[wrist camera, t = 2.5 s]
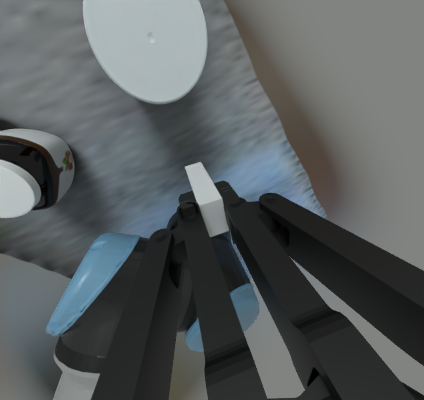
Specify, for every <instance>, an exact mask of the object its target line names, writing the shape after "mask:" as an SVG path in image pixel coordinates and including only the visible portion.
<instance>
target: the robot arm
mask: <svg viewBox="0 0 424 400" xmlns="http://www.w3.org/2000/svg"><path fill="white" fill-rule="evenodd" d="M185 169H186V172H187V175H188V178H189V181H190V184H191V187H192V190H193V191H191V192H187V193H184V194H181V195H180V197H179V203H180V206H179V207H178V208H177V212H176V213H175V214H174V215H173V216H172V217H171V219H170V221H169V223H168V225H167V229H160V230H158V231H156V232H154V233H153V234H152V235H151V237H150V238H149V239H148V238H143V237H140V236H139V235H134V236H133V235H127V234H121V233H115V232H107V233H104V234H102V235H100V236H99V237H97V238H96V240H95V241H94V242H93V244H92V245H91V247H90V248H89V250H88V252H87V253H86V255H85V257H84V259H83V260H82V262H81V264H80V265H79V267H78V269H77V271H76V272H75V274H74V276H73V278H72V280H71V281H70V283H69V285H68V287H67V289H66V291H65V292H64V294H63V296H62V298H61V300H60V302H59V303H58V305H57V307H56V309H55V311H54V313H53V315H52V317H51V320H50V322H49V324H48V325H47V327H46V332H47V333H48V334H52V335H53V336H54V337H55V336H59V335H60V337H59V340H58V343H57V345H56V348H55V351H54V359H55V362H56V363H57V364H58V366H59V367H60V368H61V370H62V371H63V373H62V376H61V379H60V382H59V384H58V387H57V390H56V392H55V395H54V398H53V400H168V398H169V390H170V382H171V374H172V366H173V358H174V349H175V342H176V334H177V332H184V333H185V341H186V342H187V345H188V348H190V349H191V350H193V351H197V352H200V351H204V354H205V381H206V389H207V394H208V400H424V395H422V394H420V393H419V392H417V391H415V390H414V389H412V388H411V387H409V386H407V385H406V384H404V383H402V382H401V381H399V379H398V378H397V377H396V376H395V375H394V373H393V372H392V371H391V370H390V368H389V367H388V366H387V365H386V364H385V362H384V361H383V360H382V359H381V358H380V356H379V355H378V354H377V353H376V351H375V350H374V349H373V348H372V347H371V345H370V344H369V343H368V342H367V341H366V339H365V338H364V337H363V336H362V335H361V334H360V332H359V331H358V330H357V329H356V327H355V326H354V325H353V324H352V323H351V322H350V321H349V320H348V318H347V317H345V316H344V315H343V314H342V313H340V312H337V311H334V310H332V309H331V308H330V307H329V306H328V305H327V304H326V303H325V301H324V300H323V299H322V298H321V296H320V295H319V294H318V293H317V291H316V290H315V289H314V288H313V286H312V285H311V284H310V283H309V281H308V280H307V279H306V277H305V276H304V275H303V273H302V272H301V271H300V269H299V268H298V267H297V266H296V264H295V263H294V262H293V261H292V259H293V260H295V261H296V262H297V263H298V264H299V265H301V266H302V267H303V268H304V269H305V270H307V271H308V272H309V273H310V274H311V275H313V276H314V277H315V278H316V279H318V280H319V281H320V282H321V283H322V284H324V285H325V286H326V287H327V288H328V289H329V290H331V291H332V292H333V293H334V294H335V295H337V296H338V297H339V298H340V299H342V300H343V301H344V302H345V303H346V304H347V305H349V306H350V307H351V308H352V309H353V310H355V311H356V312H357V313H358V314H360V315H361V316H362V317H363V318H364V319H365V320H367V321H368V322H369V323H370V324H372V325H373V326H374V327H375V328H376V329H378V330H379V331H380V332H381V333H382V334H383V335H385V336H386V337H387V338H388V339H390V340H391V341H392V342H393V343H394V344H395V345H397V346H398V347H399V348H401V349H402V350H403V351H405V352H406V353H407V354H408V355H410V356H411V357H412V358H413V359H415V360H416V361H418V362H419V363H420V364H422V365H423V366H424V271H423V270H421V269H419V268H417V267H415V266H413V265H411V264H410V263H408V262H406V261H404V260H402V259H400V258H398V257H396V256H394V255H393V254H391V253H389V252H387V251H385V250H383V249H381V248H379V247H377V246H375V245H373V244H372V243H370V242H368V241H366V240H364V239H362V238H360V237H358V236H356V235H355V234H353V233H351V232H349V231H347V230H345V229H343V228H341V227H339V226H337V225H335V224H334V223H332V222H330V221H328V220H326V219H324V218H322V217H320V216H318V215H317V214H315V213H313V212H311V211H309V210H307V209H305V208H303V207H301V206H299V205H298V204H296V203H294V202H292V201H290V200H288V199H286V198H284V197H282V196H281V195H279V194H276V193H266V194H263V195H262V196H260V198H259V201H255V202H246V200H245V199H243V198H240V197H238V195H237V194H236V193H235V191H234V190H233V189H232V187H231V186H230V185H229V183H228V182H226V181H220V182H217V183H214V184H213V182H212V180H211V178H210V177H209V175H208V173H207V172H206V170H205V168H204V166H203V165H202V163H201V162H198V163H195V164H192V165H189V166H185ZM230 230H231V235H232V240H233V244H234V243H235V244H236V246H237V248H238V250H239V252H240V254H241V256H242V258H243V260H244V262H245V264H246V266H247V268H248V270H249V272H250V274H251V276H252V278H253V280H254V282H255V284H256V286H257V288H258V290H259V292H260V294H261V296H262V298H263V300H264V302H265V304H266V306H267V308H268V310H269V312H270V314H271V316H272V318H273V320H274V322H275V324H276V326H277V328H278V330H279V332H280V334H281V336H282V338H283V340H284V342H285V344H286V346H287V348H288V351H289V353H290V355H291V358H292V361H293V364H294V367H295V369H296V372H297V374H298V376H299V378H300V380H301V382H302V384H303V387H304V388H305V391H304V392H303V393H302V394H301V395H300V396H299V397H297V398H278V399H277V398H276V399H267V396H266V394H265V391H264V388H263V385H262V382H261V379H260V377H259V374H258V371H257V368H256V365H255V363H254V360H253V357H252V354H251V352H250V349H249V347H248V344H247V341H246V338H245V336H244V333H243V332H244V331H246V330H247V329H248V328H249V327H250V326H251V325H252V324H253V323H254V321H255V320H256V318H257V316H258V314H259V303H258V299H257V297H256V295H255V292H254V290H253V285H252V283H251V282H250V280H249V278H248V276H247V274H246V272H245V270H244V268H243V266H242V264H241V262H240V260H239V258H238V256H237V254H236V252H235V250H234V248H233V246H232V244H231V237H230ZM289 256H290V257H291V258H292V259H291V258H290V257H289Z"/></svg>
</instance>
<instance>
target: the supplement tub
mask: <svg viewBox="0 0 424 400" xmlns="http://www.w3.org/2000/svg"><path fill="white" fill-rule="evenodd" d="M83 17H84V24H85V29H86V33H87V37H88V40H89V43H90V45H91V48H92V50H93V52H94V54H95V56H96V58H97V60H98V62H99V64H100V65H101V67H102V68H103V70H104V71H105V72H106V74H107V75H108V76H109V77H110V78H111V79H112V81H113V82H114V83H115V84H117V85H118V86H119V87H120V88H121V89H122V90H123V91H125V92H126V93H127V94H129V95H131V96H132V97H134V98H136V99H138V100H141V101H143V102H147V103H151V104H168V103H172V102H175V101H177V100H179V99H181V98H182V97H184V96H185V95H186V94H187V93H189V92H190V91H191V90H192V88H193V87H194V86H195V85H196V83H197V82H198V80H199V78H200V76H201V74H202V71H203V69H204V66H205V62H206V57H207V48H208V38H207V28H206V22H205V17H204V14H203V10H202V7H201V5H200V2H199V0H83Z"/></svg>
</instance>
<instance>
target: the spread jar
mask: <svg viewBox="0 0 424 400" xmlns="http://www.w3.org/2000/svg"><path fill="white" fill-rule="evenodd" d="M74 173H75V159H74V156H73V153H72V151H71V149H70V147H69V146H68V145H67V143H66V142H65V141H63V140H62V139H61V138H59V137H57V136H55V135H52V134H49V133H46V132H43V131H38V130H31V129H8V130H3V131H0V218H13V217H18V216H22V215H24V214H26V213H28V212H29V211H33V210H42V209H47V208H50V207H52V206H53V205H55V204H56V203H57V202H58V201H59V200H60V199H61V198H62V197H63V196H64V195H65V193H66V192H67V191H68V189H69V188H70V186H71V184H72V181H73V178H74Z"/></svg>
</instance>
